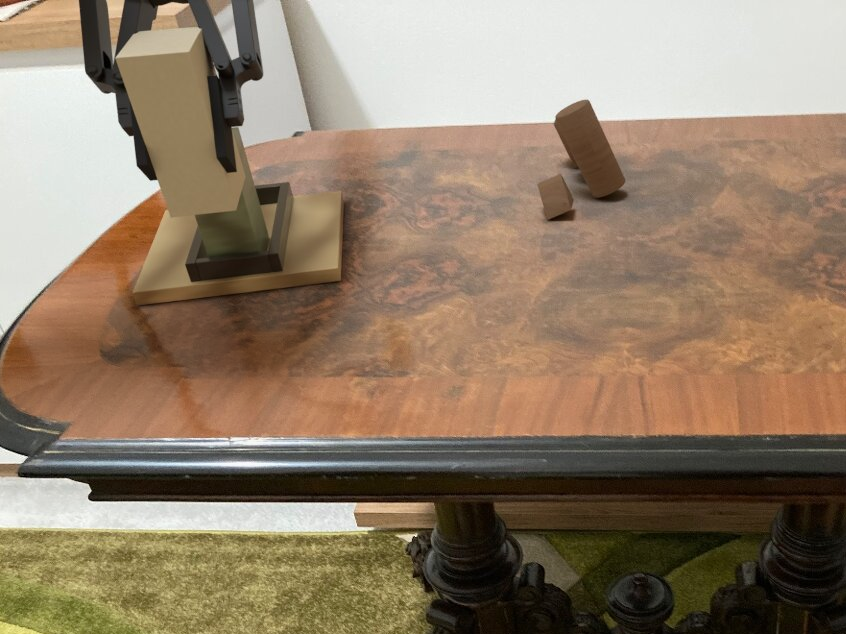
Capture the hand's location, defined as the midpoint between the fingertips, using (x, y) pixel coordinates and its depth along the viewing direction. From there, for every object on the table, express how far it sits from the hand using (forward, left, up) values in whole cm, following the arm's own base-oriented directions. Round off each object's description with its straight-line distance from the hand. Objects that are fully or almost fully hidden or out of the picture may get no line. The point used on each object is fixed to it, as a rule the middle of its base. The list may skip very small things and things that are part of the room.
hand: (188, 168), depth 70 cm
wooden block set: (+30, +38, -19) cm, 52 cm away
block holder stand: (-7, +25, -19) cm, 32 cm away
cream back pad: (-1, +4, -4) cm, 5 cm away
